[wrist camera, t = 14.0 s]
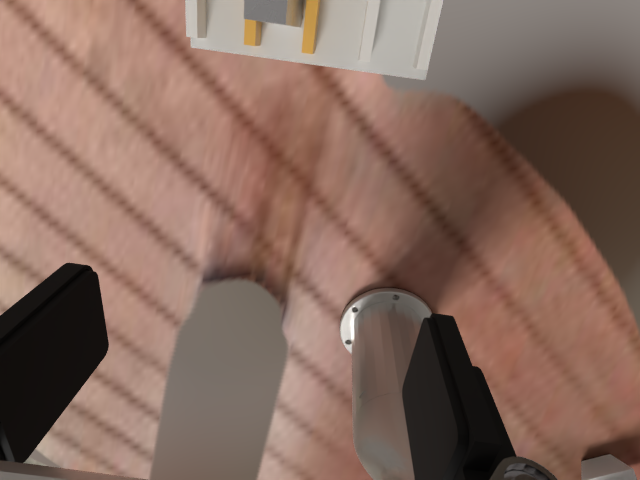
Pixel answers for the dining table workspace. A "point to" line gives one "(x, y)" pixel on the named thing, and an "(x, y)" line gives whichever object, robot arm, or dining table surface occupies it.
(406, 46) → the rack
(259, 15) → the panel
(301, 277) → the dining table surface
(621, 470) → the figurine
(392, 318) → the robot arm
